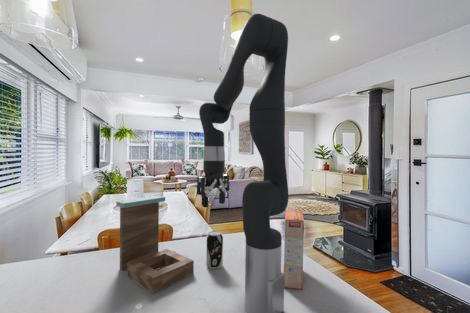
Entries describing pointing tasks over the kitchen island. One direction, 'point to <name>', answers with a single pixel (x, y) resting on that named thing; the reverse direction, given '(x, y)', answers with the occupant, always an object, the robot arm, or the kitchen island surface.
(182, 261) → the socket block
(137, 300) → the kitchen island surface
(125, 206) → the grey-capped wooden panel
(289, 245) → the cracker box
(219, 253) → the beverage can
